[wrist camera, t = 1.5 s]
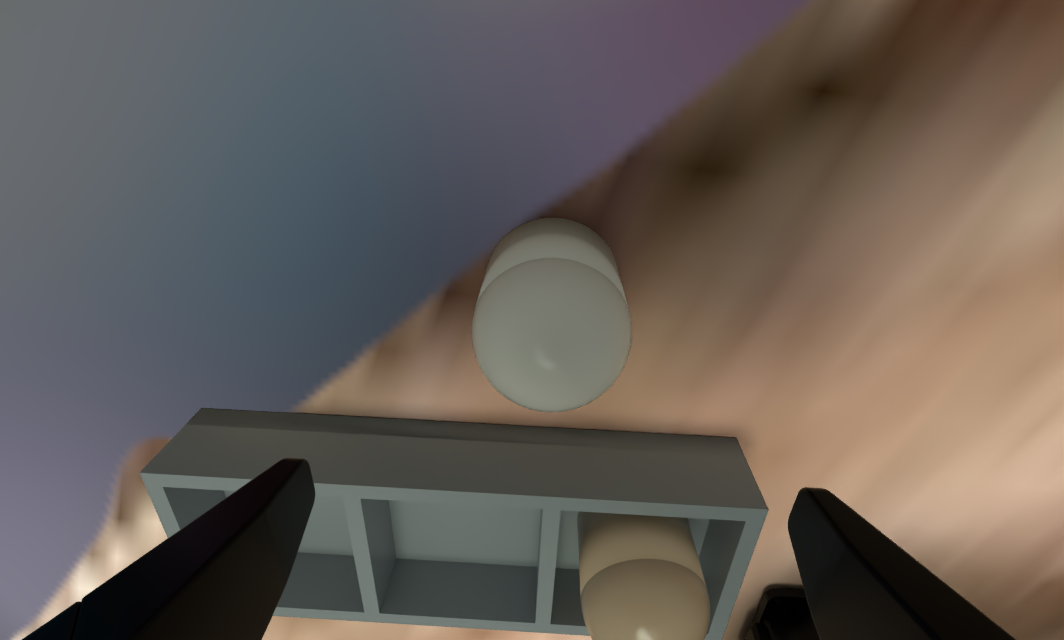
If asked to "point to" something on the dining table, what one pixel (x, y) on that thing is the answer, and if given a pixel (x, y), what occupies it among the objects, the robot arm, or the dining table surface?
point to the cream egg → (552, 316)
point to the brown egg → (640, 578)
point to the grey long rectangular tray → (463, 511)
